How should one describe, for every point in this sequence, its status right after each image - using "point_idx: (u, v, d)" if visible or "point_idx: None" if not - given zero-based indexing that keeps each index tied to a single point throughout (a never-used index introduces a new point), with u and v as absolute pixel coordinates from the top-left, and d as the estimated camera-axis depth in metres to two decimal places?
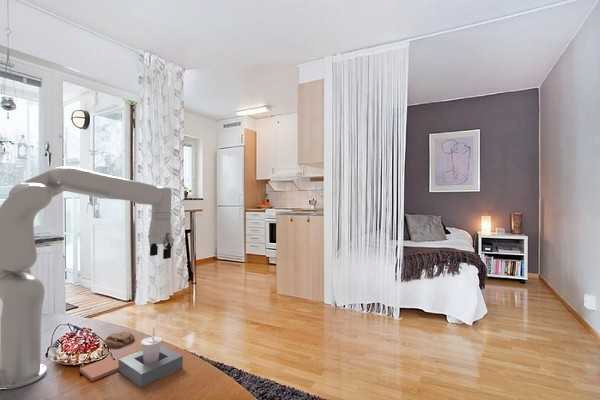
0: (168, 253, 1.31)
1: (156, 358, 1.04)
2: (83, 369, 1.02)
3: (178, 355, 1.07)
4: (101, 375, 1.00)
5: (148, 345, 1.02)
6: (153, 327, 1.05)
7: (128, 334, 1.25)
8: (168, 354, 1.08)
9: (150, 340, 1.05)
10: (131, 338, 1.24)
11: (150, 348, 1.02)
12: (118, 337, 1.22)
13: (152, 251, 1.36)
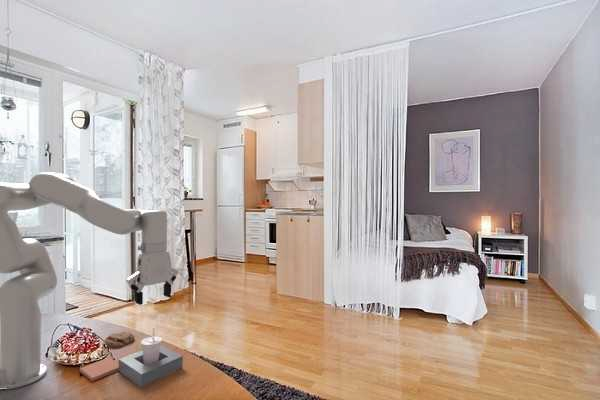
0: None
1: (156, 358, 1.04)
2: (83, 369, 1.02)
3: (178, 355, 1.07)
4: (101, 375, 1.00)
5: (148, 345, 1.02)
6: (153, 327, 1.05)
7: (128, 334, 1.25)
8: (168, 354, 1.08)
9: (150, 340, 1.05)
10: (131, 338, 1.24)
11: (150, 348, 1.02)
12: (118, 337, 1.22)
13: None
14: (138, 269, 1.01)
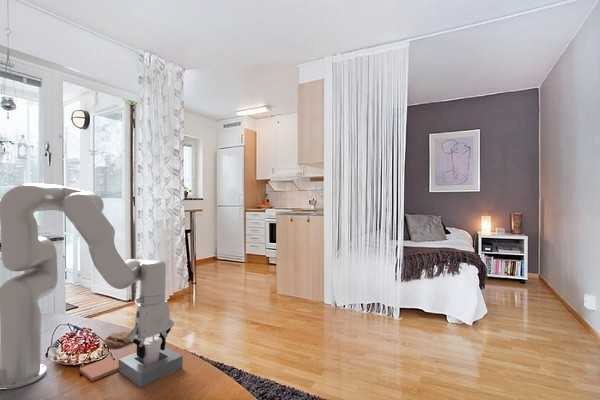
0: None
1: (156, 358, 1.04)
2: (83, 369, 1.02)
3: (178, 355, 1.07)
4: (101, 375, 1.00)
5: (148, 345, 1.02)
6: None
7: (128, 334, 1.25)
8: (168, 354, 1.08)
9: (150, 340, 1.05)
10: None
11: (150, 348, 1.02)
12: (118, 337, 1.22)
13: None
14: (136, 323, 1.01)
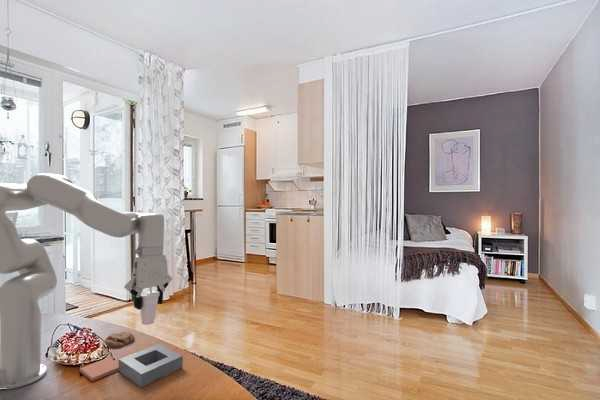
0: None
1: (153, 310, 1.04)
2: (83, 369, 1.02)
3: (178, 355, 1.07)
4: (101, 375, 1.00)
5: (145, 296, 1.02)
6: None
7: (128, 334, 1.25)
8: (168, 354, 1.08)
9: (148, 293, 1.04)
10: (131, 338, 1.24)
11: (147, 299, 1.02)
12: (118, 337, 1.22)
13: None
14: (133, 274, 1.01)
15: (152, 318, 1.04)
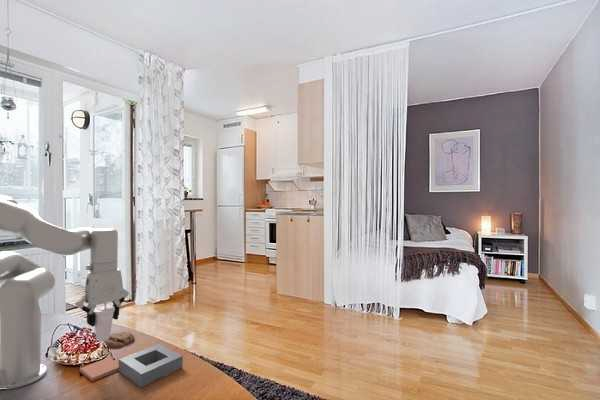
0: None
1: (108, 326, 1.03)
2: (83, 369, 1.02)
3: (178, 355, 1.07)
4: (101, 375, 1.00)
5: (99, 313, 1.01)
6: None
7: (128, 334, 1.25)
8: (168, 354, 1.08)
9: (102, 308, 1.04)
10: (131, 338, 1.24)
11: (101, 316, 1.01)
12: (118, 337, 1.22)
13: None
14: (85, 290, 1.00)
15: (107, 334, 1.03)
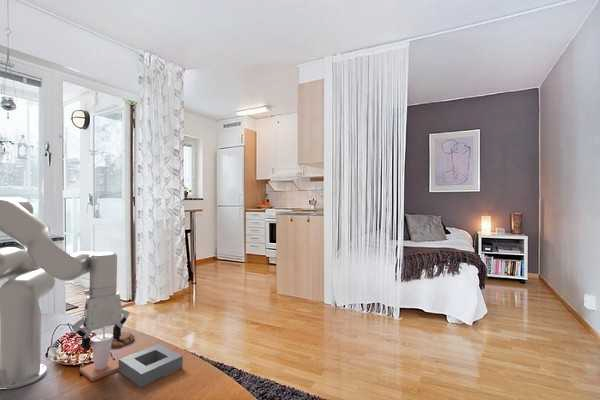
0: None
1: (106, 355, 1.03)
2: (83, 369, 1.02)
3: (178, 355, 1.07)
4: (101, 375, 1.00)
5: (97, 342, 1.01)
6: None
7: (128, 334, 1.25)
8: (168, 354, 1.08)
9: (100, 337, 1.04)
10: (131, 338, 1.24)
11: (99, 345, 1.01)
12: None
13: None
14: (84, 314, 1.00)
15: (105, 363, 1.03)
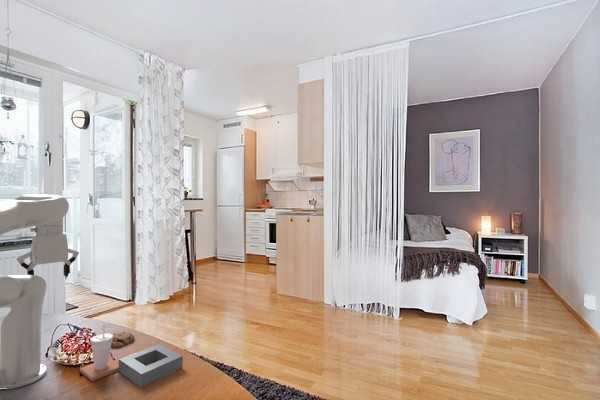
0: None
1: (106, 355, 1.03)
2: (83, 369, 1.02)
3: (178, 355, 1.07)
4: (101, 375, 1.00)
5: (97, 342, 1.01)
6: (103, 324, 1.04)
7: (128, 334, 1.25)
8: (168, 354, 1.08)
9: (100, 337, 1.04)
10: (131, 338, 1.24)
11: (99, 345, 1.01)
12: (118, 337, 1.22)
13: None
14: (31, 249, 1.09)
15: (105, 363, 1.03)
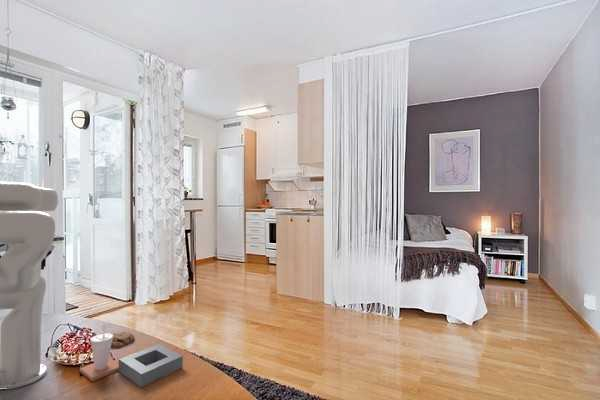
0: None
1: (106, 355, 1.03)
2: (83, 369, 1.02)
3: (178, 355, 1.07)
4: (101, 375, 1.00)
5: (97, 342, 1.01)
6: (103, 324, 1.04)
7: (128, 334, 1.25)
8: (168, 354, 1.08)
9: (100, 337, 1.04)
10: (131, 338, 1.24)
11: (99, 345, 1.01)
12: (118, 337, 1.22)
13: None
14: None
15: (105, 363, 1.03)
